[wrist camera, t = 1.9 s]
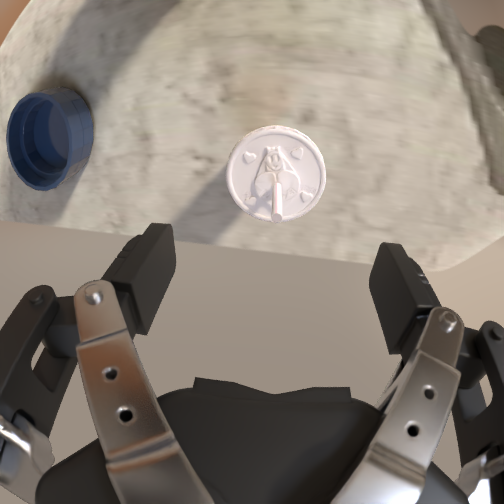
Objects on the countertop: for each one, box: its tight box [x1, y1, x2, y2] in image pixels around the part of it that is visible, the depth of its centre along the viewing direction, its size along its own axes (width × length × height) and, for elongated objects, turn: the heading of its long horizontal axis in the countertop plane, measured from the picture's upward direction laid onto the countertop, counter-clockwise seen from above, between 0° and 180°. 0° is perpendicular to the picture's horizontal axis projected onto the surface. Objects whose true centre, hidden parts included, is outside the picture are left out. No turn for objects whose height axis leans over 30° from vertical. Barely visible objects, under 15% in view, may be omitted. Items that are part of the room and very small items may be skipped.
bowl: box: [6, 87, 93, 191], centre depth 23 cm, size 11×11×4 cm
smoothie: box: [226, 125, 326, 223], centre depth 20 cm, size 6×6×14 cm
